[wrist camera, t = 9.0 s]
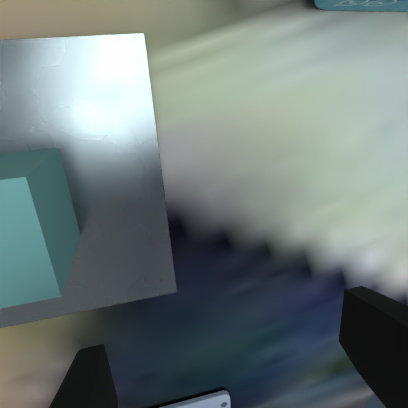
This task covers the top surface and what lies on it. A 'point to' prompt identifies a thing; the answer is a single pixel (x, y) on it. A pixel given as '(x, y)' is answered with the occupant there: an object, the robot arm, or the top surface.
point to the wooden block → (35, 227)
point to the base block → (93, 163)
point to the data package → (363, 5)
